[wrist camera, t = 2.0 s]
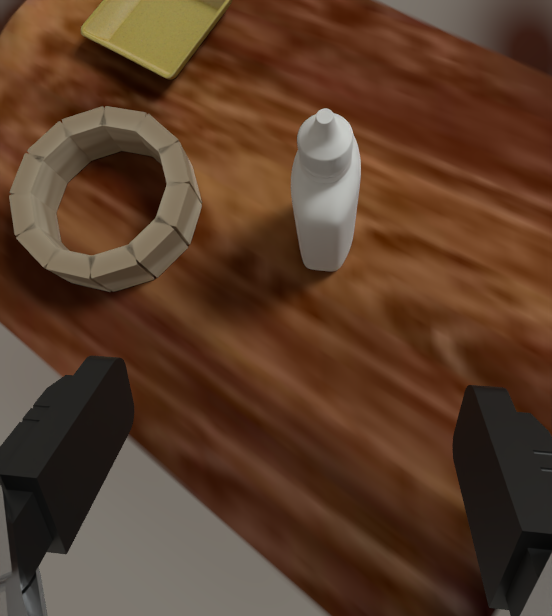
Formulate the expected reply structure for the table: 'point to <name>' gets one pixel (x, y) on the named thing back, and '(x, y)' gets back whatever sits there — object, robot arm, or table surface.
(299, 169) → the eye dropper bottle
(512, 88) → the table surface
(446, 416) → the table surface
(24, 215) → the birch ring collar
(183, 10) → the yellow square tray
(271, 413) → the table surface
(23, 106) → the table surface
